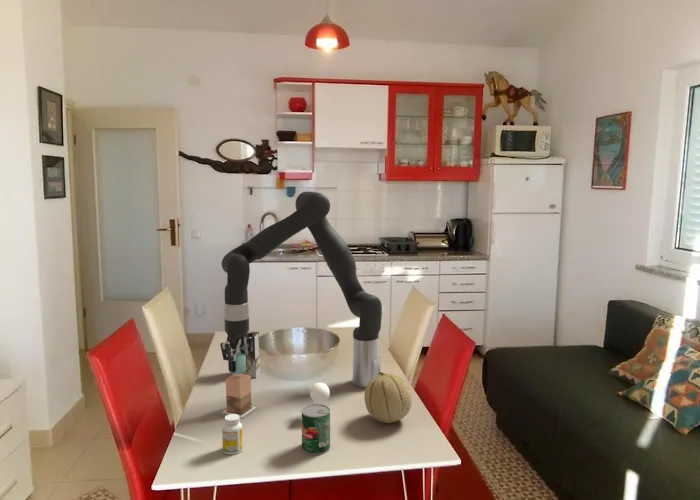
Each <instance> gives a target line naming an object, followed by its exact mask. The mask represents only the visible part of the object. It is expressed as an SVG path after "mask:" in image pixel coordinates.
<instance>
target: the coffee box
mask: <svg viewBox="0 0 700 500" xmlns="http://www.w3.org/2000/svg"><path fill="white" fill-rule="evenodd" d="M249 332H250V333H253V341H252V349H251V351H249V352H248V355H247V366H246V372H244V373H241V374H246V375H251V379H255V378H258V376H259V375H260V373H261V359H260V358H261V357H260V356H259V352H258V349H259V350H260V332H259V331H249ZM247 345H248V347H249V344H248V343H247ZM231 350H233V351H235V349H231ZM238 353H240V352H239V351H238ZM232 354H233V353H231V355H232Z"/></svg>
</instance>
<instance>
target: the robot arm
mask: <svg viewBox="0 0 700 500" xmlns="http://www.w3.org/2000/svg"><path fill="white" fill-rule="evenodd" d="M295 209H296V210H294V212H293V213H291V214H290V215H287V217H285V218H283V219H282V220H279V221H277V222H275V223H273V224H271V225H269V226H267V227H266V228H264V229H262V230H261V231H260V232H258V233H257V234H255V235H254V236H253V237H251V238H250V239H249V240H248V241H246V242H245V243H242V244H241V245H238V246H237V247H235V248H233V249H232V250H230V251H229V252H227V253H226V254H225V255H224V257H222V259H221V260H222V261H221V268H222V270H223V271H224V272H225V273H226V275H227V281H226V282H227V284H226V285H225V286H224V311H223V315H224V317H223V318H224V332H225V333H226V334H227V336H226V337H227V338H226V340H225V341H224V342H221V343H220V345H219V347H220V350H221V355H222V359H223V361H227V363H228V366H227V367H228V372H233V373H234V372H236V361H235V360H236V355H237V354H238V351H239V352H240V353H243V354H245V355H246V366H247V355H248V352H249V351H251V349H252V341H253V333H250V332H251V331H250V307H249V300H248V299H249V297H248V296H249V295H248V286H249V280H250V271H251V270H250V264H251V263H253V262H254V261H258V260H262V259H264V258H265V257H266V256H268V255H269V254H270V253H272V252H273V251H274V250H275V249H277V248H278V247H279V246H281V245H282V244H283V243H284V242H286V241H287V240H289V239H290V238H292V237H293V236H295V235H296V234H298V233H299V232H302V231H303V230H305V229H306V228H307V229H308V230H309V232H310V233H311V235H312V237H313V239H314V241H315V243H316V246H317V248H318V249H319V252H320V253H321V255H322V257H323V259H324V261H325V263H326V265H327V267H328V268H329V270H330V272H331V273H332V276H333V277H334V279H335V281H336V282H337V284H338V286H339V288H340V289H341V291H342V294H343V296H344V297H343V298H344V299H345V301H346V304H347V307H348V309H349V311H350V312H351V313H352V315H353V316H354V317H357V318H359V323H358V324H359V326H358V327H355V328H354V329H353V331H352V384H353V385H354V386H356V387H358V388H365V389H366V387H367V385H368V383H369V382H370V381H371V380H372V379H373V378H375V377H377V376H379V375H381V374H379V372H381V356H379V341H380V339H379V335H380V332H381V329H382V315H383V308H382V301H381V299H380V298H379V297H378V296H376V295H374V294H370V293H368V292H367V291H365V290H364V288H363V286H362V285H361V283H360V281H359V279H358V277H357V265H356V260H355V256H354V255H353V253H352V251H351V249H350V247H349V246H348V244H347V243H346V241H345V240H344V239H343V238H342V236H341V235H340V234H339V233H338V232H337V230H335V228H334V227H333V226H332V224H330V222H329V220H328V218H327V216H328V214H329V212H330V210H331V203H330V199H329V198H328V197H327V195H325V194H323V193H321V192H317V191H311V190H310V191H309V190H308V191H303V192H300V193H299V194H298V195H297V197H296V199H295ZM247 343H248V344H249V347H248V345H247ZM232 349H235V351H233V350H232ZM232 353H233V357H232V356H231V355H232Z"/></svg>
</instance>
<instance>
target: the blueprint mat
mask: <svg viewBox="0 0 700 500" xmlns="http://www.w3.org/2000/svg"><path fill="white" fill-rule="evenodd" d="M260 409H261V406H259V405H255V404H251V409H249V410H248V411H246V412H245V413H243V414H242V415H239V417H240V420H244V419H246V418H247V417H249V416H250V415H252V414H253V413H254V412H256V411H258V410H260ZM216 414H218V415H222V416H224V417H225V416H227V415H229V414H234V413H230V412H227V406H226V407H225V408H223V409H221V410H219V411H218V412H216ZM237 415H238V414H237Z"/></svg>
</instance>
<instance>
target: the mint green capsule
mask: <svg viewBox="0 0 700 500" xmlns="http://www.w3.org/2000/svg"><path fill="white" fill-rule="evenodd" d="M231 356H232V357H233V354H232V353H231ZM235 361H236V372H234V373H233V372H230V373H231V375H233V374H241V373H244V372H246V355H245V354H243V353H238V354H237V355H236V360H235Z"/></svg>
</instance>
